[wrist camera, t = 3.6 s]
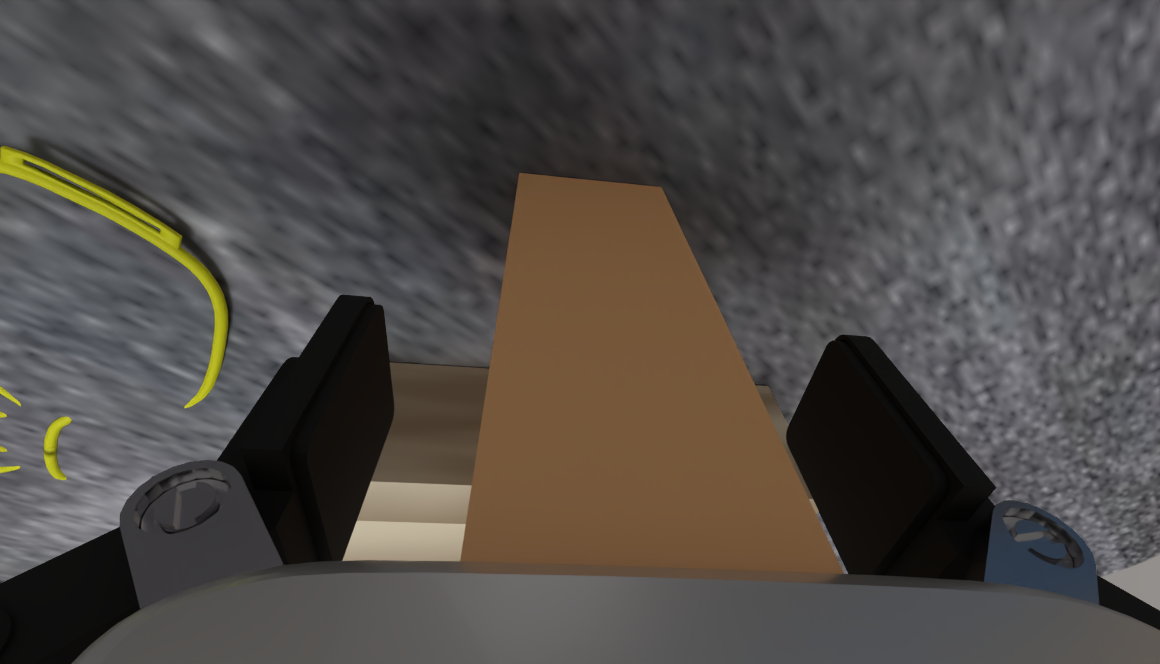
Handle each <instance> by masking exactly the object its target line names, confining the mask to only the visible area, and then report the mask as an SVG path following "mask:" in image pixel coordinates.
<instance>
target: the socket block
mask: <svg viewBox="0 0 1160 664" xmlns="http://www.w3.org/2000/svg"><path fill="white" fill-rule="evenodd" d="M390 370H391V379H392V388H393V397H394V417H393V421H392V424H391V427H390V430H389V433H388V435H387V438H386V441H385V444H384V447H383V449H382V452H381V455H380V458H379V460H378V463H377V466H376V469H375V472H374V474H373V477H372V480H371V483H370V485H369V488H368V491H367V494H366V497H365V499H364V502H363V505H362V508H361V511H360V513H359V516H358V519H357V522H356V524H355V527H354V530H353V533H352V536H351V538H350V541H349V544H348V547H347V549H346V552H345V555H344V558H343V560H342V561H354V560H404V561H460V558H461V552H462V545H463V539H464V532H465V526H466V519H467V512H468V506H469V499H470V493H471V486H472V480H473V473H474V467H475V460H476V454H477V447H478V440H479V434H480V427H481V421H482V414H483V408H484V401H485V395H486V388H487V381H488V375H489V369H488V368H472V367H456V366H440V365H424V364H408V363H392V362H390ZM755 386H756V388H757V390H758V392H759V395H760V397H761V399H762V401H763V403H764V405H765V407H766V409H767V412H768V414H769V416H770V418H771V420H772V422H773V424H774V426H775V428H776V431H777V433H778V435H779V437H780V439H781V441H782V443H783V445H784V447H785V450H786V452H787V454H788V456H789V458H790V460H791V462H792V464H793V467H794V469H795V471H796V473H797V475H798V477H799V479H800V481H801V483H802V486H803V488H804V490H805V492H806V494H807V496H808V498H809V500H810V503H811V505H812V507H813V509H814V511H815V513H816V515H817V513H818V509H817V506H816V504H815V502H814V500H813V498H812V496H811V494H810V492H809V490H808V487H807V485H806V483H805V481H804V479H803V477H802V475H801V473H800V471H799V468H798V466H797V464H796V462H795V460H794V458H793V456H792V454H791V452H790V449H789V447H788V445H787V441H786V432H787V428H788V424H787V422H786V420H785V418H784V416H783V414H782V412H781V410H780V408H779V406H778V404H777V402H776V400H775V398H774V396H773V394H772V392H771V390H770V388H769V386H760V385H755Z"/></svg>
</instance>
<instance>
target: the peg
mask: <svg viewBox="0 0 1160 664" xmlns="http://www.w3.org/2000/svg"><path fill="white" fill-rule="evenodd" d="M460 561H472V562H506V563H540V564H575V565H609V566H638V567H668V568H697V569H726V570H754V571H780V572H805V573H830V574H844V572H843V570H842V568H841V566H840V564H839V562H838V560H837V558H836V555H835V553H834V551H833V549H832V547H831V545H830V543H829V541H828V538H827V536H826V534H825V532H824V530H823V528H822V526H821V524H820V522H819V519H818V517H817V515H816V513H815V511H814V509H813V507H812V505H811V503H810V500H809V498H808V496H807V494H806V492H805V490H804V488H803V486H802V483H801V481H800V479H799V477H798V475H797V473H796V471H795V469H794V467H793V464H792V462H791V460H790V458H789V456H788V454H787V452H786V450H785V447H784V445H783V443H782V441H781V439H780V437H779V435H778V433H777V431H776V428H775V426H774V424H773V422H772V420H771V418H770V416H769V414H768V412H767V409H766V407H765V405H764V403H763V401H762V399H761V397H760V395H759V392H758V390H757V388H756V386H755V384H754V382H753V380H752V378H751V376H750V373H749V371H748V369H747V367H746V365H745V363H744V361H743V359H742V356H741V354H740V352H739V350H738V348H737V346H736V344H735V342H734V340H733V337H732V335H731V333H730V331H729V329H728V327H727V325H726V323H725V321H724V318H723V316H722V314H721V312H720V310H719V308H718V306H717V304H716V301H715V299H714V297H713V295H712V293H711V291H710V289H709V287H708V285H707V282H706V280H705V278H704V276H703V274H702V272H701V270H700V268H699V265H698V263H697V261H696V259H695V257H694V255H693V253H692V251H691V249H690V246H689V244H688V242H687V240H686V238H685V236H684V234H683V232H682V230H681V227H680V225H679V223H678V221H677V219H676V217H675V215H674V213H673V210H672V208H671V206H670V204H669V202H668V200H667V198H666V196H665V194H664V191H663V189H662V187H656V186H646V185H636V184H626V183H616V182H606V181H596V180H586V179H576V178H566V177H556V176H546V175H536V174H527V173H519V178H518V185H517V192H516V198H515V205H514V211H513V218H512V224H511V231H510V237H509V244H508V250H507V257H506V264H505V270H504V277H503V283H502V290H501V296H500V303H499V309H498V316H497V323H496V329H495V336H494V342H493V349H492V355H491V362H490V368H489V375H488V381H487V388H486V395H485V401H484V408H483V414H482V421H481V427H480V434H479V440H478V447H477V454H476V460H475V467H474V473H473V480H472V486H471V493H470V499H469V506H468V512H467V519H466V526H465V532H464V539H463V545H462V552H461V558H460Z"/></svg>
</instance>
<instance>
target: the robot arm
mask: <svg viewBox="0 0 1160 664" xmlns="http://www.w3.org/2000/svg"><path fill="white" fill-rule="evenodd" d="M393 417H394V397H393V388H392V379H391V370H390V362H389V353H388V344H387V335H386V326H385V317H384V310H383V307H382V306H381V305H374V301H373V299H372V298H371V297H364V296H351V295H340V296H339V297H338V298H337V300H336V301H335V303H334V305H333V306H332V308H331V309H330V311H329V312H328V314H327V315H326V317H325V318H324V320H323V321H322V323H321V324H320V326H319V327H318V329H317V331H316V332H315V334H314V335H313V337H312V338H311V340H310V341H309V343H308V344H307V346H306V347H305V349H304V350H303V352H302V353H301V355H300V357H291V358H289V359H287V360H286V361H285V362H284V363H283V365H282V366H281V368H280V369H279V370H278V372H277V373H276V375H275V376H274V378H273V379H272V381H271V382H270V384H269V385H268V387H267V388H266V390H265V391H264V392H263V394H262V395H261V397H260V398H259V400H258V401H257V403H256V404H255V406H254V407H253V409H252V410H251V411H250V413H249V414H248V416H247V417H246V419H245V420H244V422H243V423H242V425H241V426H240V428H239V429H238V431H237V432H236V433H235V435H234V436H233V438H232V439H231V441H230V442H229V444H228V445H227V447H226V448H225V450H224V451H223V452H222V454H221V455H220V457H219V458H218V460H217V461H212V460H203V461H193V462H188V463H185V464H181V465H178V466H174V467H171V468H169V469H167V470H165V471H163V472H161V473H159V474H157V475H155V476H153V477H152V478H151V479H149V480H148V481H147V482H145V483H144V484H142V485H141V486H140V487H138V488H137V490H136V491H135V492H134V493H133V494H132V495H131V496H130V497H129V498H128V499H127V501H126V503H125V505H124V507H123V509H122V511H121V513H120V527H118V528H116V529H114V530H112V531H110V532H108V533H106V534H104V535H102V536H100V537H97V538H95V539H93V540H91V541H89V542H87V543H85V544H83V545H81V546H79V547H76V548H74V549H72V550H70V551H68V552H66V553H64V554H62V555H60V556H57V557H55V558H53V559H51V560H49V561H47V562H45V563H43V564H41V565H39V566H36V567H34V568H32V569H30V570H28V571H26V572H24V573H22V574H20V575H18V576H15V577H13V578H11V579H9V580H7V581H5V582H3V583H1V584H0V664H1160V611H1159V610H1158V609H1156V608H1154V607H1152V606H1150V605H1149V604H1147V603H1145V602H1143V601H1142V600H1140V599H1138V598H1136V597H1135V596H1133V595H1131V594H1129V593H1127V592H1126V591H1124V590H1122V589H1120V588H1119V587H1117V586H1115V585H1113V584H1112V583H1110V582H1108V581H1106V580H1105V579H1103V578H1101V577H1099V576H1097V570H1096V562H1095V559H1094V556H1093V553H1092V551H1091V550H1090V548H1089V547H1088V546H1087V544H1086V543H1085V541H1084V540H1083V539H1082V538H1081V537H1080V536H1079V535H1078V534H1077V533H1076V532H1075V531H1074V530H1073V529H1072V528H1071V527H1069V526H1068V525H1067V524H1065V523H1064V522H1063V521H1061V520H1060V519H1059V518H1057V517H1055V516H1054V515H1052V514H1050V513H1048V512H1047V511H1045V510H1043V509H1041V508H1039V507H1036V506H1034V505H1031V504H1029V503H1025V502H1020V501H1016V500H1006V501H1002V502H1000V503H998V504H996V505H995V506H994V505H993V503H992V502H991V501H990V500H989V498H988V497H989V495H990V494H991V493H992V492H993V491H994V490H995V489H996V487H995V485H994V484H993V483H992V482H991V481H990V479H989V478H988V477H987V476H986V475H985V473H984V472H983V471H982V470H981V469H980V467H979V466H978V465H977V464H976V463H975V461H974V460H973V459H972V458H971V457H970V455H969V454H968V453H967V452H966V451H965V449H964V448H963V447H962V446H961V445H960V443H959V442H958V441H957V440H956V439H955V437H954V436H953V435H952V434H951V433H950V431H949V430H948V429H947V428H946V427H945V425H944V424H943V423H942V422H941V421H940V419H939V418H938V417H937V416H936V415H935V413H934V412H933V411H932V410H931V409H930V407H929V406H928V405H927V404H926V403H925V401H924V400H923V399H922V398H921V397H920V395H919V394H918V393H917V392H916V391H915V389H914V388H913V387H912V386H911V385H910V383H909V382H908V381H907V380H906V379H905V377H904V376H903V375H902V374H901V373H900V371H899V370H898V369H897V368H896V367H895V365H894V364H893V363H892V362H891V361H890V359H889V358H888V357H887V356H886V355H885V353H884V352H883V351H882V350H881V349H880V347H879V346H878V345H877V344H876V343H875V341H874V340H873V339H871V338H870V337H866V336H854V335H840V336H838V337H837V338H836V339H835V341H831V342H829V343H828V345H827V346H826V348H825V350H824V352H823V355H822V357H821V359H820V361H819V363H818V365H817V367H816V369H815V371H814V374H813V376H812V378H811V380H810V382H809V384H808V386H807V388H806V390H805V392H804V395H803V397H802V399H801V401H800V403H799V405H798V407H797V409H796V411H795V413H794V416H793V418H792V420H791V422H790V424H789V426H788V428H787V432H786V441H787V445H788V447H789V449H790V452H791V454H792V456H793V458H794V460H795V462H796V464H797V466H798V468H799V471H800V473H801V475H802V477H803V479H804V481H805V483H806V485H807V487H808V490H809V492H810V494H811V496H812V498H813V500H814V502H815V504H816V506H817V509H818V511H819V513H820V515H821V517H822V519H823V521H824V523H825V525H826V528H827V530H828V532H829V534H830V536H831V538H832V540H833V542H834V544H835V546H836V549H837V551H838V553H839V555H840V557H841V559H842V561H843V563H844V565H845V568H846V570H847V572H848V574H830V573H805V572H780V571H754V570H726V569H697V568H668V567H638V566H609V565H575V564H540V563H506V562H472V561H404V560H354V561H342V560H343V558H344V555H345V552H346V549H347V547H348V544H349V541H350V538H351V536H352V533H353V530H354V527H355V524H356V522H357V519H358V516H359V513H360V511H361V508H362V505H363V502H364V499H365V497H366V494H367V491H368V488H369V485H370V483H371V480H372V477H373V474H374V472H375V469H376V466H377V463H378V460H379V458H380V455H381V452H382V449H383V447H384V444H385V441H386V438H387V435H388V433H389V430H390V427H391V424H392V421H393Z"/></svg>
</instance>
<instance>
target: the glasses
mask: <svg viewBox="0 0 1160 664" xmlns="http://www.w3.org/2000/svg"><path fill="white" fill-rule="evenodd" d="M25 160H27V161H29V162H32V163H34V164H37V165H39V166H42V167H44V168H46V169H48V170H50V171H52V172H54V173H56V174H58V175H60V176H62V177H64V178H66V179H68V180H70V181H72V182H74V183H76V184H78V185H80V186H82V187H84V188H86V189H87V190H89V191H91V192H93V193H95V194H97V195H99V196H100V197H102V198H104V199H102V198H100V197H98V196H96V195H94V194H92V193H90V192H88V191H86V190H83V189H81V188H79V187H77V186H75V185H73V184H71V183H69V182H67V181H65V180H62V179H60V178H58V177H56V176H54V175H52V174H50V173H48V172H45V171H43V170H40V169H38V168H36V167H33V166H31V165H28V164H26V163H25ZM0 173H4V174H8V175H11V176H15V177H18V178H21V179H24V180H26V181H29V182H31V183H34V184H36V185H39V186H41V187H44V188H46V189H48V190H50V191H52V192H55V193H57V194H59V195H61V196H63V197H65V198H67V199H69V200H72V201H74V202H76V203H78V204H80V205H82V206H84V207H86V208H89V209H91V210H93V211H95V212H97V213H99V214H101V215H103V216H105V217H107V218H109V219H111V220H113V221H114V222H116V223H118V224H120V225H122V226H124V227H125V228H127V229H129V230H131V231H132V232H134V233H136V234H138V235H139V236H141V237H143V238H144V239H146V240H148V241H149V242H151V243H153V244H154V245H156V246H157V247H159V248H160V249H162V250H163V251H165V252H166V253H168V254H169V255H171V256H172V257H174V258H175V259H176V260H178V261H179V262H180V263H182V264H183V265H184V266H186V267H187V268H188V269H189V270H190V271H191V272H192V273H193V274H194V275H195V276H197V278H198V279H199V280H200V281H201V283H202V284H203V285H204V287H205V288H206V290H207V292H208V294H209V296H210V298H211V301H212V304H213V308H214V314H215V330H214V339H213V346H212V353H211V359H210V363H209V366H208V370H207V373H206V376H205V378H204V382H203V384H202V386H201V388H200V390H199V392H198V393H197V395H196V396H195V397H194V398H193V399H192V400H191V401H190V402H189V403H188V404H187V405H186V406H185V407H184V408H188V407H191V406H193V405H194V404H196V403H198V402H199V401H201V400H202V399H204V398H205V397H206V396H207V394H208V393H209V392H210V391H211V389H212V388H213V386H214V384H215V381H216V379H217V377H218V374H219V372H220V369H221V366H222V362H223V358H224V352H225V346H226V340H227V332H228V309H227V304H226V301H225V297H224V294H223V292H222V290H221V288H220V286H219V284H218V282H217V281H216V280H215V278H214V277H213V275H212V274H211V273H210V271H209V270H208V269H207V268H206V267H205V266H204V265H203V264H202V263H201V262H200V261H199V260H197V259H196V258H195V257H194V256H192V255H191V254H190V253H189V252H187V251H186V250H185V249H183V248H182V247H181V241H182V235H180V234H179V233H177V232H176V231H174V230H173V229H171V228H170V227H168V226H167V225H165V224H164V223H162V222H161V221H159V220H157V219H156V218H154V217H153V216H151V215H149V214H148V213H146V212H144V211H143V210H141V209H140V208H138V207H136V206H135V205H133V204H131V203H129V202H127V201H126V200H124V199H122V198H120V197H119V196H117V195H115V194H113V193H111V192H110V191H108V190H106V189H104V188H102V187H99V186H97V185H95V184H93V183H91V182H89V181H87V180H85V179H83V178H81V177H79V176H77V175H75V174H73V173H71V172H68V171H66V170H64V169H62V168H60V167H58V166H56V165H54V164H52V163H50V162H48V161H45V160H43V159H40V158H38V157H36V156H33V155H31V154H28V153H26V152H23V151H20V150H17V149H14V148H11V147H8V146H2V147H1V159H0ZM105 199H106V200H105ZM107 200H108V201H110V202H111V203H110V202H108V201H107ZM112 203H113V204H112ZM114 204H115V205H114ZM116 205H117V206H116ZM118 206H119V207H121V208H123V209H124V210H123V209H121V208H119V207H118ZM125 210H126V211H125ZM127 211H128V212H130V213H132V214H134V215H135V216H134V215H132V214H130V213H128V212H127ZM136 216H137V217H139V218H141V219H143V220H145V221H147V222H148V223H150V224H152V225H154V226H156V227H158V228H160V229H161V230H160V231H159V230H157V229H155V228H154V227H152V226H150V225H149V224H147V223H146V222H144V221H142V220H141V219H139V218H137V217H136ZM0 394H2V395H3V396H5V397H7V398H8V399H10V400H12V401H13V402H15V403H16V404H18V405H19V406H21V404H20V402H19V401H18V400H16V399H15V398H14V397H13V396H12V395H10V394H9V393H8V392H7V391H6V390H4V389H3V388H2V387H1V386H0ZM1 417H7V415H6V414H4V413H2V412H0V418H1ZM70 422H71V419H70V418H69V417H60V418H59V419H57V420H55V421H54V422H53V423H52V424H51V425H50V427H49V428H48V430H47V433H46V436H45V440H44V459H45V463H46V466H47V469H48V470H49V472H50V474H51V475H52V476H53V477H54V478H56V479H61V480H66V476H65V475H64V474H63V473H62V472H61V470H60V469H59V466H58V462H57V457H56V455H57V440H58V436H59V434H60V431H61V429H62V428H63V427H64V426H65V425H67V424H69V423H70ZM0 452H7V450H6V449H5V448H3V447H1V446H0ZM19 468H20V466H15V467H0V473H3V472H8V471H12V470H17V469H19Z"/></svg>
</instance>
